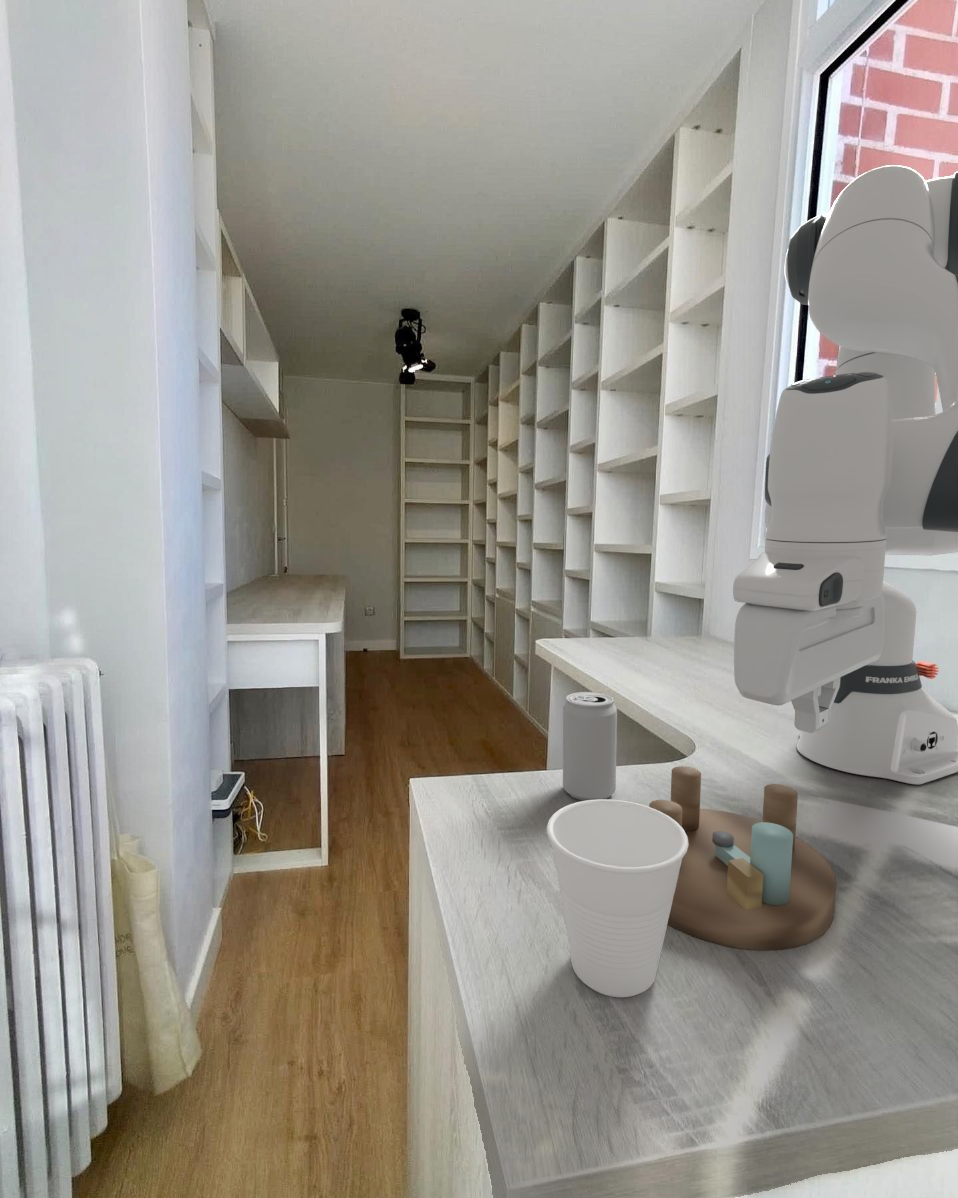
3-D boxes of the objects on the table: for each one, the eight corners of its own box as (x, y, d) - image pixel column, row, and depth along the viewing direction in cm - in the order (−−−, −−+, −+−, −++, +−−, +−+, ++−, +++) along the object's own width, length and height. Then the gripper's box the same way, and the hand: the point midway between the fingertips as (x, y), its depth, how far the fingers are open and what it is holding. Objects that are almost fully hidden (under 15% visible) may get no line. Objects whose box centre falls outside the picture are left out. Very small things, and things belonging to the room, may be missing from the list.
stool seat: (740, 821, 66) (743, 751, 65) (887, 926, 49) (895, 834, 48) (589, 844, 62) (590, 770, 61) (692, 970, 45) (696, 869, 44)
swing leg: (701, 851, 56) (704, 796, 55) (730, 847, 56) (732, 792, 56) (766, 908, 48) (769, 843, 47) (797, 901, 48) (801, 838, 48)
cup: (657, 922, 50) (661, 796, 48) (705, 1021, 40) (712, 867, 39) (538, 926, 50) (538, 800, 48) (557, 1027, 40) (558, 872, 38)
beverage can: (616, 806, 70) (618, 706, 68) (560, 802, 71) (561, 704, 70) (615, 783, 76) (616, 691, 75) (564, 779, 77) (564, 688, 76)
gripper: (836, 559, 60) (827, 692, 62) (720, 583, 48) (715, 748, 50) (910, 563, 55) (898, 708, 57) (802, 591, 43) (792, 774, 45)
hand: (812, 727), depth 53 cm, fingers closed
